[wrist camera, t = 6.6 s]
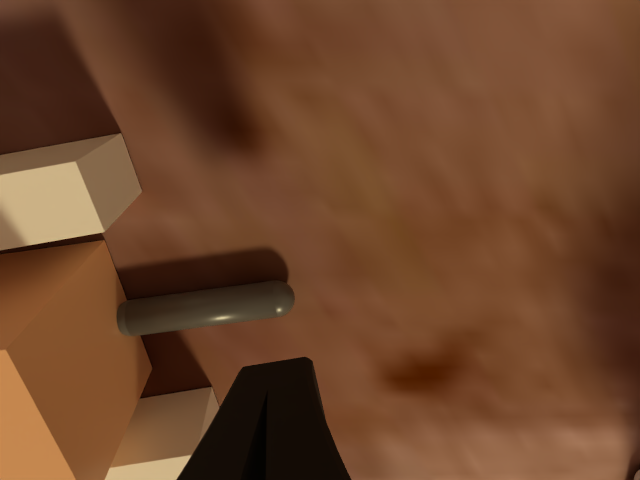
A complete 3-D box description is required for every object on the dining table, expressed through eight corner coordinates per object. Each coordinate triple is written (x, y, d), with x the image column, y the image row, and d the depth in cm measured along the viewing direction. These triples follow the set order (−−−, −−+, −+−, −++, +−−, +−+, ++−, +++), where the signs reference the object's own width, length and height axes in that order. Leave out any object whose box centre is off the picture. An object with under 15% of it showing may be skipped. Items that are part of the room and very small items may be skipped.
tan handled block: (305, 348, 14) (308, 482, 10) (8, 387, 14) (-109, 534, 10) (281, 215, 12) (272, 314, 8) (-61, 262, 12) (-241, 381, 8)
